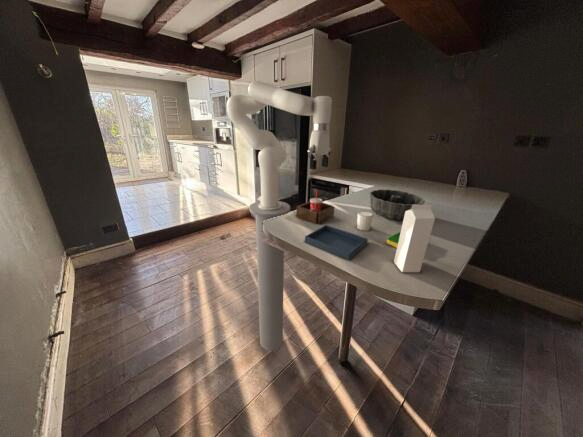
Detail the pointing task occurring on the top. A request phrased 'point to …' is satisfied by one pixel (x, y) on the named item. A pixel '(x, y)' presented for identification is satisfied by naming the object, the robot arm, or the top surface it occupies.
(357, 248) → the tray
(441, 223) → the top surface
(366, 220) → the white cylinder
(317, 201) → the beverage cup
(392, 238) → the dish sponge
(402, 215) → the bundt pan
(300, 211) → the basket
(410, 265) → the milk
